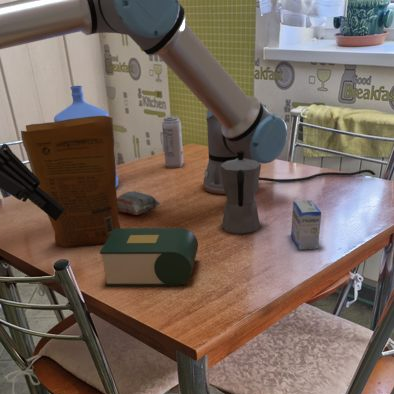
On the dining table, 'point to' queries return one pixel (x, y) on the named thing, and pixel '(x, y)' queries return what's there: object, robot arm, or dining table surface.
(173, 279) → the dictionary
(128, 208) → the packaged food
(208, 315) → the dining table surface
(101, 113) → the water jug
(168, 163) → the energy drink can
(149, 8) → the robot arm
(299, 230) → the medicine box
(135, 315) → the dining table surface
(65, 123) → the pancake mix bag
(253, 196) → the coffeepot
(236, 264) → the dining table surface
